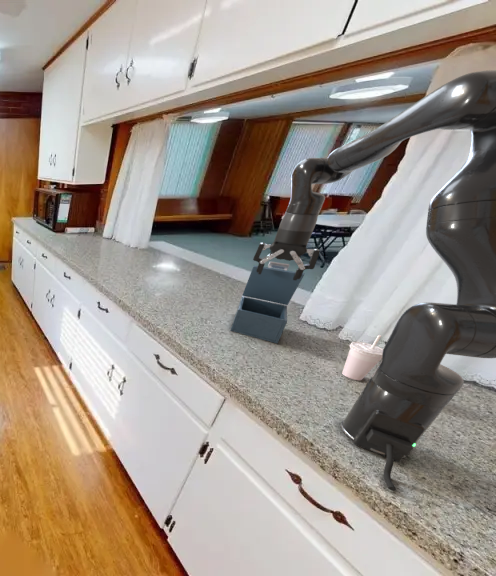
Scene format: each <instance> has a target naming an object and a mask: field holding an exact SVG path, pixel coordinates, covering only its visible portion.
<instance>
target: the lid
mask: <svg viewBox="0 0 496 576" xmlns="http://www.w3.org/2000/svg"><path fill="white" fill-rule="evenodd" d="M257 267H258V265H253V266H252V270H251V271H250V274H249V276H248V279H247V282H246V285H245V287H244V289H243V291H242V292H243V293H242V296H244V297H249V298H253V299H258V300H263V301H268V302H272V303H277V304H282V305H286V306H289V303H290V302H291V300H292V298H293V296H294V294H295V293H296V291H297V289H298V288H299V285H300V283H301V282H302V280H303V279H304V277H305V272H303V273H302V276H301V278H300V279H297V280H296V281H295V280H293V277H294V275H295V273H296V271H293V270H288V269H289V268H290V263H283V262H276V261H268V264H267V266H264V267H263V270H262V273H261V275H260V274H258V272H257V271H256V270H257ZM242 296H241V297H242Z"/></svg>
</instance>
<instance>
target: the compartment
mask: <svg viewBox="0 0 496 576" xmlns="http://www.w3.org/2000/svg"><path fill="white" fill-rule="evenodd" d="M287 324H288V305H284V304H279V303H275V302H270V301H265V300H261V299H256V298H251V297H246V296H241V297H240V300H239V304H238V305H237V309H236V312H235V314H234V317H233V320H232V323H231V327H230V331H231V332H233V333H237V334H241V335H243V336H244V335H245V336H249V337H251V338H255V339H259V340H262V341H266V342H270V343H274V344H279V341H280V339H281V337H282V334H283V332H284V330H285V329H286V326H287Z"/></svg>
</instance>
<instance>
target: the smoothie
mask: <svg viewBox="0 0 496 576" xmlns="http://www.w3.org/2000/svg"><path fill="white" fill-rule="evenodd" d="M381 338H382V335H381V334H378V335H377V337H376V338H375V340H374V341H373V343H372V344H371V343H368V342H364V341H351V343H350V344H349V351H348V353H347V357H346V360H345V363H344V366H343V369H342V371H341V373H342V375H343V376H345V377H346V378H348V379H351V380H353V381H362V380H363V379H364V378H365V377H366V376H367V375H368V374H369V373H370V372H371V371H372V370H373V369H374V367H376V365H377V364H379V362H380V361H382V353H383V349H384V348H382V347H379V346H377V345H378V343H379V341H380V340H381Z"/></svg>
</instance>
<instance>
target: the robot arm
mask: <svg viewBox="0 0 496 576" xmlns="http://www.w3.org/2000/svg"><path fill="white" fill-rule="evenodd" d="M435 130H444V131H445V130H446V131H447V130H449V131H451V130H452V131H459V130H460V131H470V133H471V143H470V146H469V147H470V148H469V152H468V156H467V158H466V161H465V162H464V164H463V165H462V166H461V168H459V169H458V171H457V172H456V173H455V174H454V175H453V176H451V177H450V178H449V179H448V180H447V181H446V182H445V183H444V184H443V185H442V186H441V188H439V190H437V192H436V193H435V194H434V195H433V197H432V198H431V200H430V202H429V205H428V208H427V219H426V225H425V226H426V227H425V235H426V239H427V241H428V242H429V245H430V247H431V248H432V249H433V250H434V252H435V253H436V254H437V255H438V256H439V258H440V259H441V261H443V263H444V264H445V265H446V267H448V269H449V270H450V272H451V273H452V275H453V277H454V279H455V283H456V291H457V292H456V293H457V294H456V304H455V303H443V302H420V303H417V304H414V305H412V306H410V307H409V308H407V309H406V310H405V311H404V312H403V313H401V316H400V317H399V318H398V320H397V321H396V323H395V325H394V326H393V329H392V331H391V333H390V335H389V337H388V339H387V341H386V343H385V345H384V347H383V348H382V349H383V353H382V359H381V360H380V361H381V362H380V363H379V365H378V366H377V368H376V370H375V371H374V373H373V374H372V376H371V377H370V379H369V380H368V382H367V384H366V386H364V388H363V390H362V391H361V393H360V394H359V396H358V398H357V399H356V401H355V402H354V403H353V405H352V407H351V408H350V410H349V411H348V413H347V414H346V416H345V418H344V420H342V421H341V423H340V424H339V427H340V429H341V431H342V432H343V434H344V435H345V436H346V437H347V438H349V439H350V440H351V441H352V443H353V445H355V446H357V447H360V448H362V449H365V450H367V451H371V452H373V453H375V454H377V455H380V456H383V457H385V458H386V461H385V465H384V469H383V479H384V481H385V484H386V486H387V487H388V490H390V491H394V492H395V491H396V490H397V489H396V486H395V484H394V483H393V481H392V478H391V475H392V470H393V467H394V461H396V462H401V461H402V460H403V459H405V458H406V457H407V456H409V454H410V453H411V452H412V451H413V449H414V447H416V444H417V442H418V441H419V440H420V439H421V438H422V436H424V435H425V432H426V431H427V430H428V429H429V427H431V425H432V424H433V423H434V421H435V420H436V419H437V418H438V416H439V415H440V414H441V413H442V411H443V410H444V409H445V408H446V407H447V405H448V404H449V403H450V402H451V401H452V399H453V398H454V397H455V396H456V394H457V393H458V392H459V391H460V390H461V388H462V387H463V386H464V378H463V377H462V376H461V375H460V374H459V373H457V372H456V371H454V370H453V369H451V368H449V367H447V366H445V365H443V364H441V363H442V361H443V360H444V357H445V356H446V355H452V356H453V355H454V356H460V357H461V356H462V357H468V358H469V357H470V358H478V359H479V358H480V359H496V69H492V70H491V69H489V70H479V71H474V72H469V73H465V74H463V75H460V76H458V77H455V78H453V79H452V80H450V81H448V82H446V83H444V84H443V85H441V86H439V87H438V88H436V89H435V90H433V91H432V92H430V93H428V94H427V95H425V96H424V97H423V98H421V99H419V100H418V101H416V102H414V103H413V104H412V105H410V106H408V108H406V109H404V110H402V111H400V112H399V113H398V114H397V115H395V116H393V117H392V118H390V119H389V120H388V121H386V122H385V123H383V124H382V125H380V126H378V127H376V128H375V129H373V130H372V131H370V132H368V133H365V134H363V135H362V136H360V137H357V138H356V139H354V140H351V141H350V142H347V143H345V144H343V145H341V146H339V147H337V148H336V149H333V151H332V152H331V153H329V155H328V156H327V157H308V158H305V159H302V160H301V161H300V162H298V163H297V164H296V165H295V167H294V168H293V170H292V173H291V181H290V182H291V189H290V190H291V191H290V200H289V202H288V206H287V208H286V211H285V213H284V215H283V217H282V219H281V221H280V223H279V227H278V229H277V231H276V234H275V237H274V240H273V242H272V243H271V244H270V243H269V244H268V243H265V242H260V243H259V245H258V247H257V249H256V251H255V253H254V255H253V259H252V260H253V261H254V262H257V263H258V264H257V266H258V267H257V270H256V271H257V272H258V274H260V275H261V273H262V270H263V267H265V264H266V263H267V262H270V261H271V260H272V259H274V258H275V259H277V260H285V261H288V262H289V261H294V262H295V264H296V265H297V268H296V271H295V272H296V273H295V275H294V277H293V280H295V281H296V280H297V279H300V278H301V276H302V273H304V271H306V270H314V269H315V267H316V264H317V261H318V259H319V255H320V250H319V249H318V248H314V249H313V248H307V247H308V243H309V241H310V238H311V237H312V234H313V232H314V229H315V227H316V224H317V221H318V217H319V215H320V212H321V211H322V208H323V205H324V203H325V200H326V196H325V194H323V193H320V192H317V191H313V188H312V185H328V184H332V183H336V182H338V181H341V180H343V179H344V178H345V177H347V176H349V175H350V174H351V173H353V172H354V171H355V170H358V169H360V168H364V167H367V166H368V165H369V166H370V165H371V164H373V163H376V162H379V161H380V160H382V159H384V158H385V157H388V156H389V155H391V154H392V153H393V152H394V151H395V150H396V149H398V147H399V146H400V144H401V143H402V142H403V141H405V140H407V139H409V138H412V137H415V136H418V135H420V134H424V133H427V132H431V131H435ZM267 249H269V250H270V253H268V254H267V255H265V256H264V257H260V256H261V254H262V252H263V251H266V250H267ZM305 254H308V256H309V257H310V259H309V262H308V263H307V264H304V262H303V261H302V258H301V256H303V255H305Z"/></svg>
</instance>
